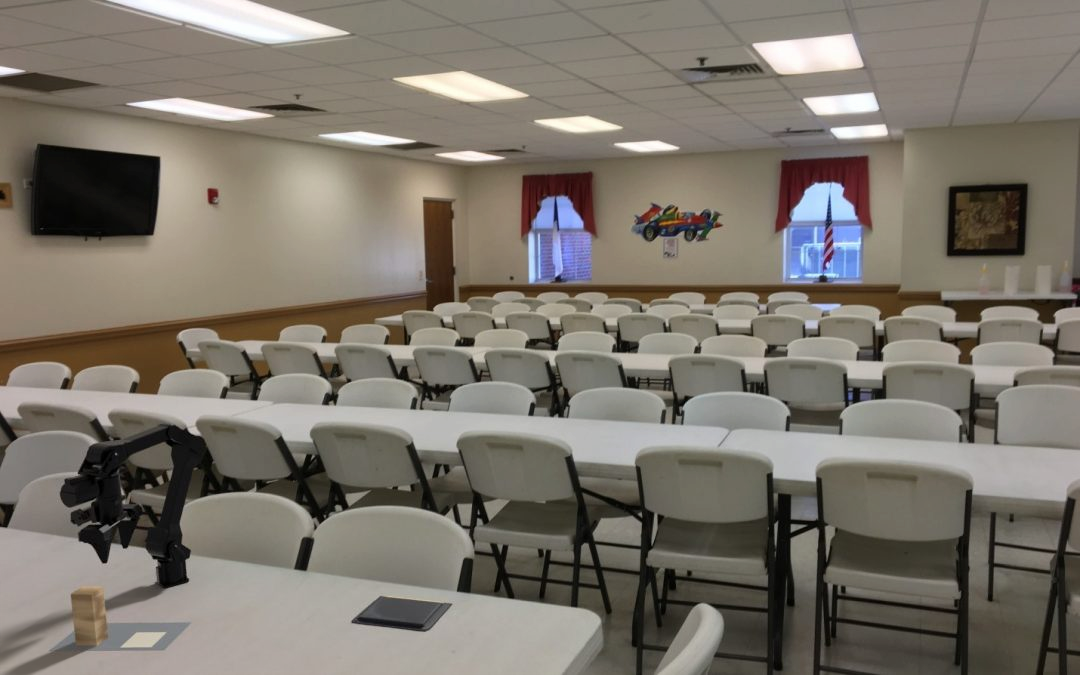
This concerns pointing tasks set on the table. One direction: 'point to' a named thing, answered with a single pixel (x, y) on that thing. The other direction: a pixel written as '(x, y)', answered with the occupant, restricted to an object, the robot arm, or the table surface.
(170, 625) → the rubber mat
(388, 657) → the table surface
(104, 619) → the wooden block
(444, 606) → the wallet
